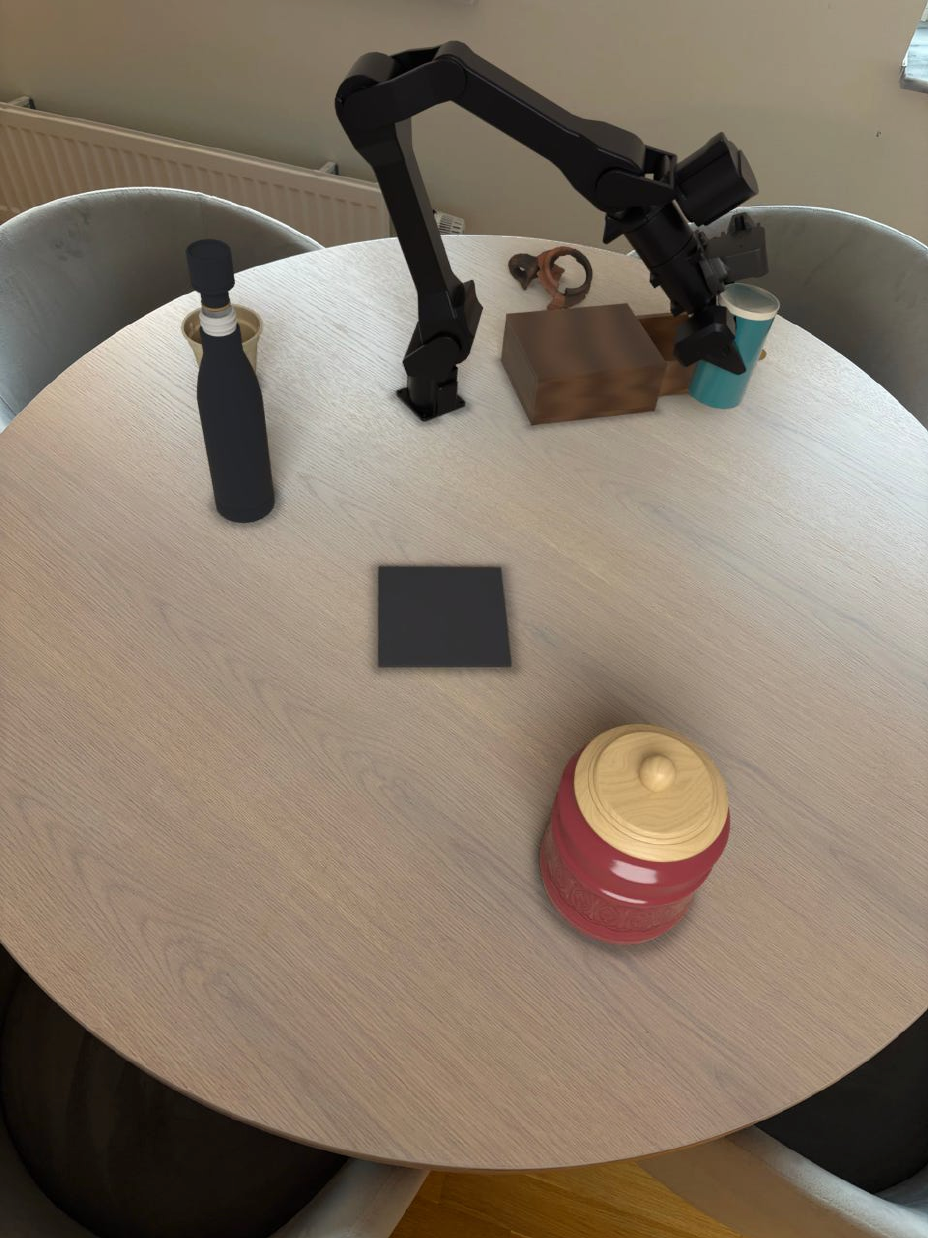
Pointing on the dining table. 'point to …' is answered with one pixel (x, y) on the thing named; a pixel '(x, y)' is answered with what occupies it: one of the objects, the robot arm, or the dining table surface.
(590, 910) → the kitchen canister
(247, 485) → the black water bottle
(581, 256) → the brown ring sculpture
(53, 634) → the dining table surface
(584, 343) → the cabinet
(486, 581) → the coaster
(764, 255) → the robot arm
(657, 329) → the drawer
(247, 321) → the flower pot
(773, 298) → the tumbler
